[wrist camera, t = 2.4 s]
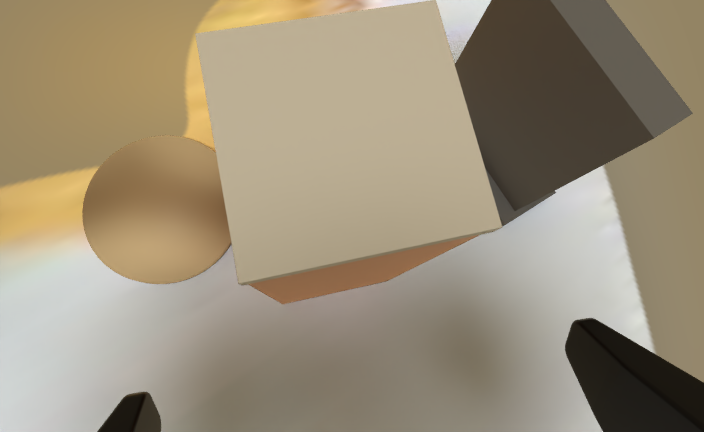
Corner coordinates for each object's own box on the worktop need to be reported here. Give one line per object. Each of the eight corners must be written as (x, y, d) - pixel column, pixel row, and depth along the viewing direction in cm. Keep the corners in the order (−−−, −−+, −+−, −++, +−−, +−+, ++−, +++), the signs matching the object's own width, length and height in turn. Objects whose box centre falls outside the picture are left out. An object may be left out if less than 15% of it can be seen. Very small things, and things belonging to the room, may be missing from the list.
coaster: (253, 266, 21) (252, 265, 21) (96, 299, 21) (91, 298, 20) (228, 128, 23) (226, 124, 22) (80, 153, 22) (75, 149, 21)
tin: (391, 281, 22) (509, 225, 9) (281, 305, 21) (238, 283, 8) (367, 180, 23) (442, -1, 10) (262, 200, 22) (195, 33, 9)
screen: (549, 195, 24) (717, 109, 14) (500, 227, 23) (640, 159, 13) (467, 77, 25) (569, -80, 15) (417, 104, 24) (491, -42, 14)
